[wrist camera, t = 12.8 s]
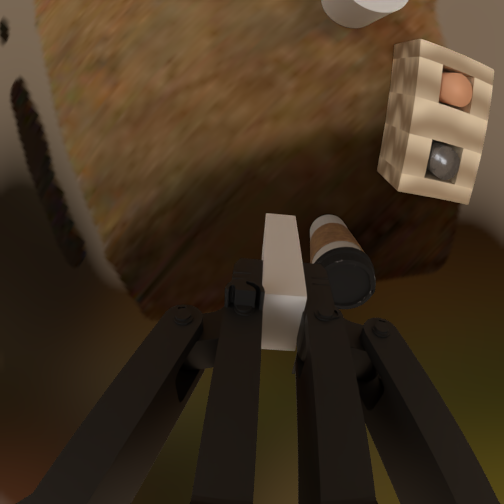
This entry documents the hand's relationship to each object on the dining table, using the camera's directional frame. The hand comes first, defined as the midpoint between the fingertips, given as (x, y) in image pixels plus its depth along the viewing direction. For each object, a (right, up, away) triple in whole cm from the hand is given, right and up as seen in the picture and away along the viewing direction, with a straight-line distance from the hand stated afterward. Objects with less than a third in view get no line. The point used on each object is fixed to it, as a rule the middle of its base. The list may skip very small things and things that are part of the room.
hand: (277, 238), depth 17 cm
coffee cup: (+11, +3, +33) cm, 35 cm away
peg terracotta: (+24, +24, +19) cm, 39 cm away
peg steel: (+24, +15, +24) cm, 37 cm away
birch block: (+24, +20, +22) cm, 38 cm away
